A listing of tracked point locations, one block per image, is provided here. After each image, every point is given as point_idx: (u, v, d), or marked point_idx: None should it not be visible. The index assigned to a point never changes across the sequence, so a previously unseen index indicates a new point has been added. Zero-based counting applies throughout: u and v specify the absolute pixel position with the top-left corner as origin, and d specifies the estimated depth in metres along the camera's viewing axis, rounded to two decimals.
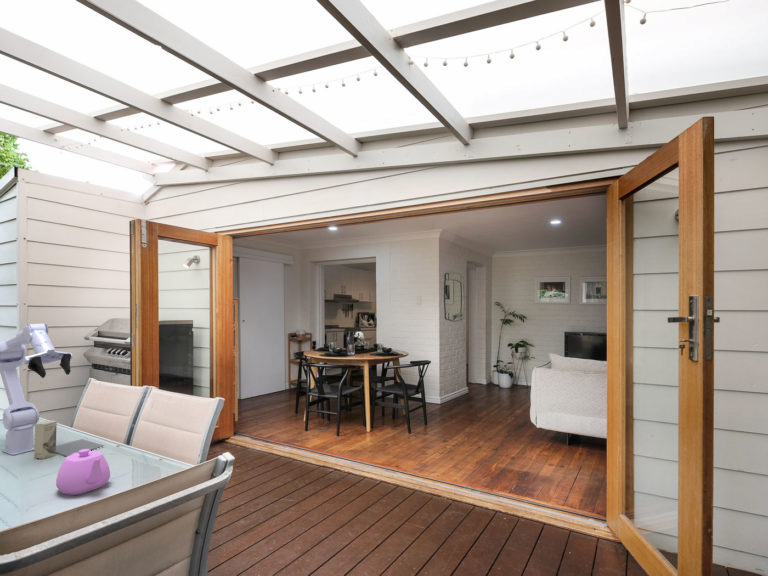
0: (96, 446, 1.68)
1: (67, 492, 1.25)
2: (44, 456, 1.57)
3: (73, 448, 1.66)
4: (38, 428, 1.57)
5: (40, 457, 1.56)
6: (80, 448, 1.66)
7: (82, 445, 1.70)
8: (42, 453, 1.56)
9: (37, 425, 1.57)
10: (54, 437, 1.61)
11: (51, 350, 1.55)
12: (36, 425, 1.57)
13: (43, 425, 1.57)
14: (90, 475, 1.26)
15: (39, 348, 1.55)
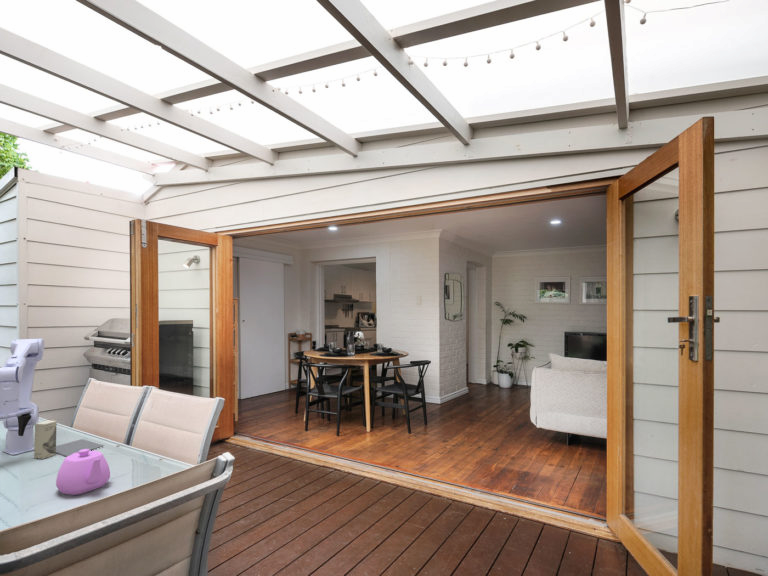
0: (96, 446, 1.68)
1: (67, 492, 1.25)
2: (44, 456, 1.57)
3: (73, 448, 1.66)
4: (38, 428, 1.57)
5: (40, 457, 1.56)
6: (80, 448, 1.66)
7: (82, 445, 1.70)
8: (42, 453, 1.56)
9: (37, 425, 1.57)
10: (54, 437, 1.61)
11: (12, 415, 1.50)
12: (36, 425, 1.57)
13: (43, 425, 1.57)
14: (90, 475, 1.26)
15: (3, 407, 1.49)
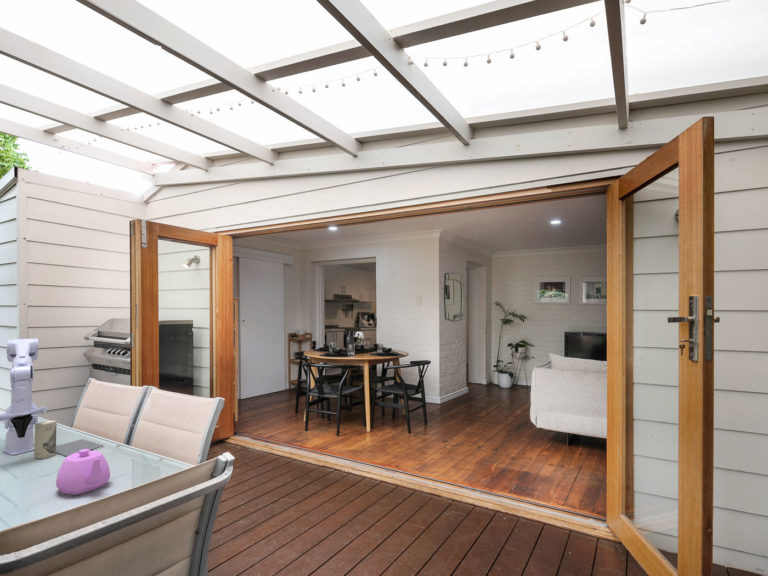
0: (96, 446, 1.68)
1: (67, 492, 1.25)
2: (44, 456, 1.57)
3: (73, 448, 1.66)
4: (38, 428, 1.57)
5: (40, 457, 1.56)
6: (80, 448, 1.66)
7: (82, 445, 1.70)
8: (42, 453, 1.56)
9: (37, 425, 1.57)
10: (54, 437, 1.61)
11: None
12: (36, 425, 1.57)
13: (43, 425, 1.57)
14: (90, 475, 1.26)
15: (16, 406, 1.50)
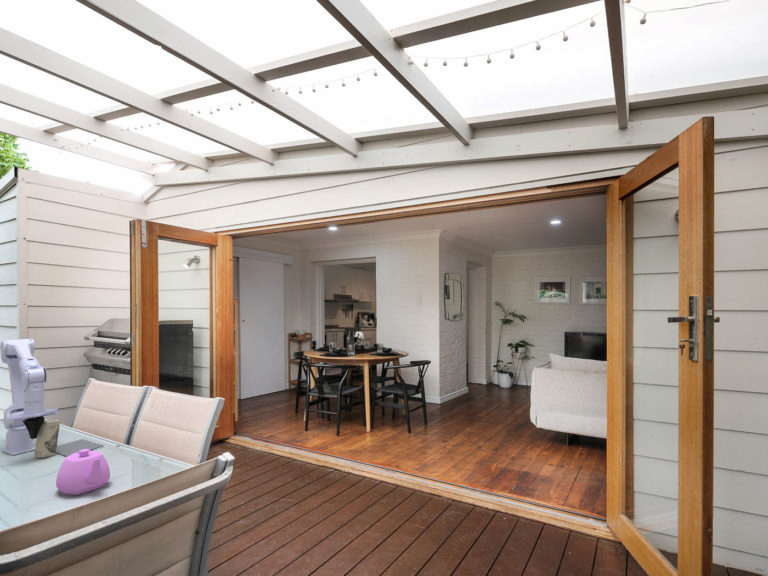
0: (96, 446, 1.68)
1: (67, 492, 1.25)
2: (44, 454, 1.57)
3: (73, 448, 1.66)
4: (41, 426, 1.58)
5: (40, 456, 1.57)
6: (80, 448, 1.66)
7: (82, 445, 1.70)
8: (43, 451, 1.57)
9: None
10: (56, 436, 1.61)
11: (38, 416, 1.55)
12: None
13: (47, 423, 1.58)
14: (90, 475, 1.26)
15: (28, 408, 1.54)
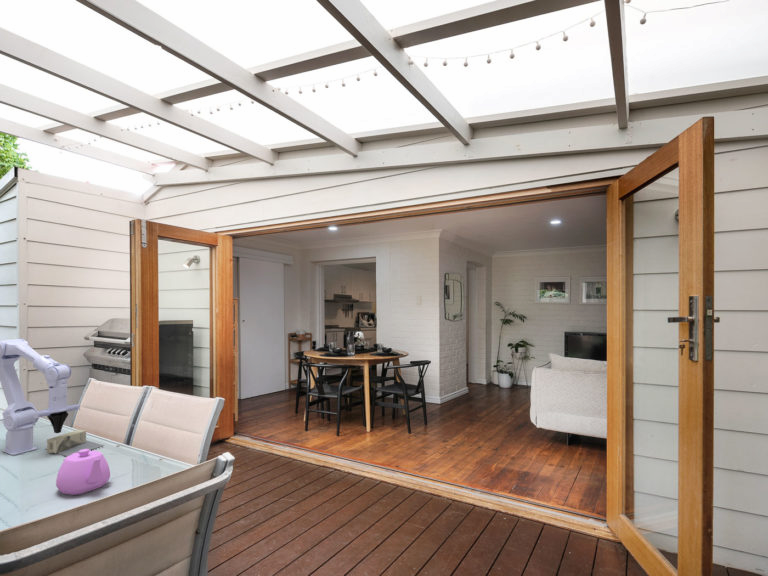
0: (96, 446, 1.68)
1: (67, 492, 1.25)
2: (58, 440, 1.62)
3: (73, 448, 1.66)
4: (77, 431, 1.72)
5: (54, 439, 1.62)
6: (80, 448, 1.66)
7: (82, 445, 1.70)
8: (60, 438, 1.63)
9: (79, 430, 1.74)
10: (72, 445, 1.67)
11: (62, 411, 1.61)
12: (78, 430, 1.74)
13: (84, 430, 1.73)
14: (90, 475, 1.26)
15: (53, 403, 1.60)
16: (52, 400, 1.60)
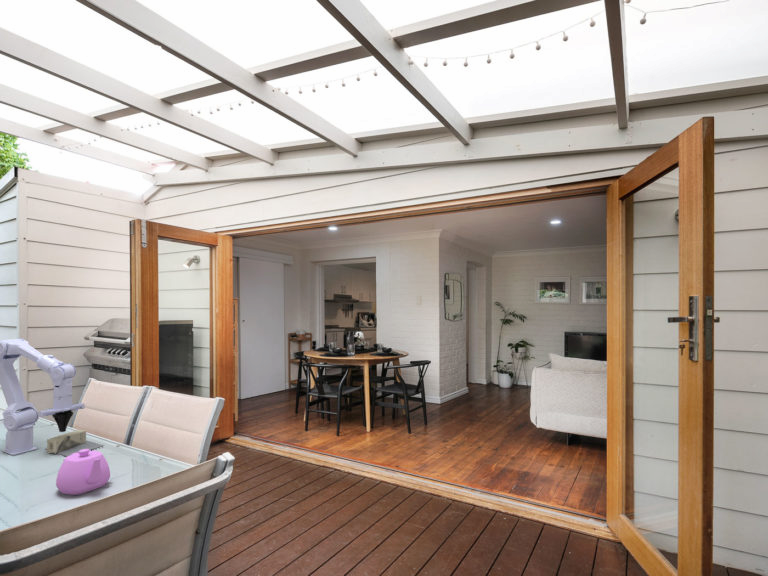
0: (96, 446, 1.68)
1: (67, 492, 1.25)
2: (58, 440, 1.62)
3: (73, 448, 1.66)
4: (77, 431, 1.72)
5: (54, 439, 1.62)
6: (80, 448, 1.66)
7: (82, 445, 1.70)
8: (60, 438, 1.63)
9: (79, 430, 1.74)
10: (72, 445, 1.67)
11: (67, 410, 1.63)
12: (78, 430, 1.74)
13: (84, 430, 1.73)
14: (90, 475, 1.26)
15: (58, 402, 1.62)
16: (57, 399, 1.62)
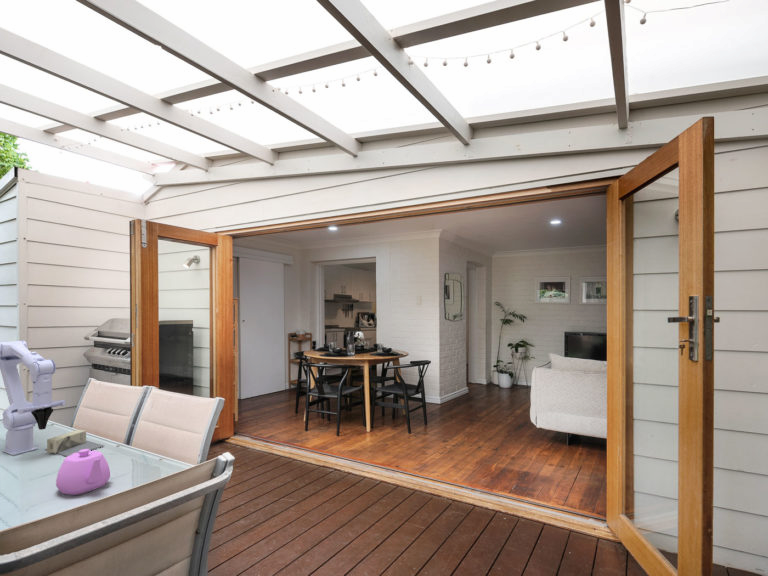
0: (96, 446, 1.68)
1: (67, 492, 1.25)
2: (58, 440, 1.62)
3: (73, 448, 1.66)
4: (77, 431, 1.72)
5: (54, 439, 1.62)
6: (80, 448, 1.66)
7: (82, 445, 1.70)
8: (60, 438, 1.63)
9: (79, 430, 1.74)
10: (72, 445, 1.67)
11: (46, 406, 1.58)
12: (78, 430, 1.74)
13: (84, 430, 1.73)
14: (90, 475, 1.26)
15: (37, 399, 1.57)
16: (36, 396, 1.57)
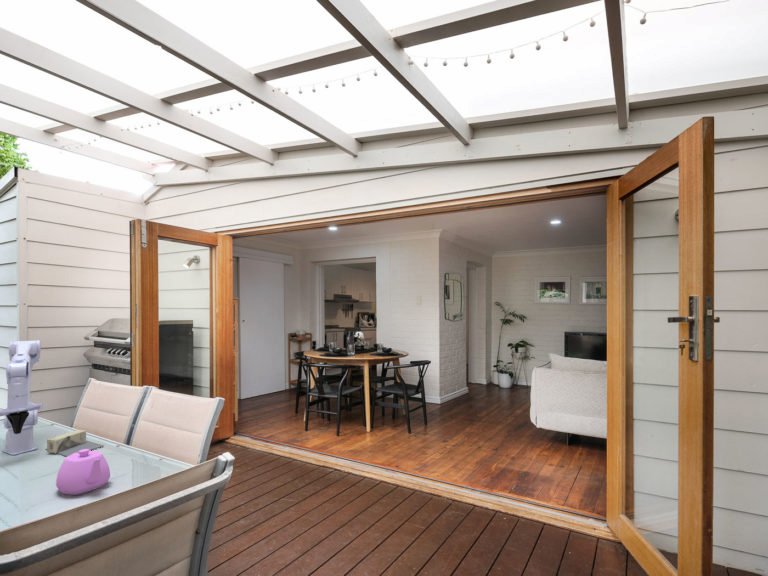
0: (96, 446, 1.68)
1: (67, 492, 1.25)
2: (58, 440, 1.62)
3: (73, 448, 1.66)
4: (77, 431, 1.72)
5: (54, 439, 1.62)
6: (80, 448, 1.66)
7: (82, 445, 1.70)
8: (60, 438, 1.63)
9: (79, 430, 1.74)
10: (72, 445, 1.67)
11: (21, 410, 1.53)
12: (78, 430, 1.74)
13: (84, 430, 1.73)
14: (90, 475, 1.26)
15: (12, 402, 1.52)
16: (11, 399, 1.52)
